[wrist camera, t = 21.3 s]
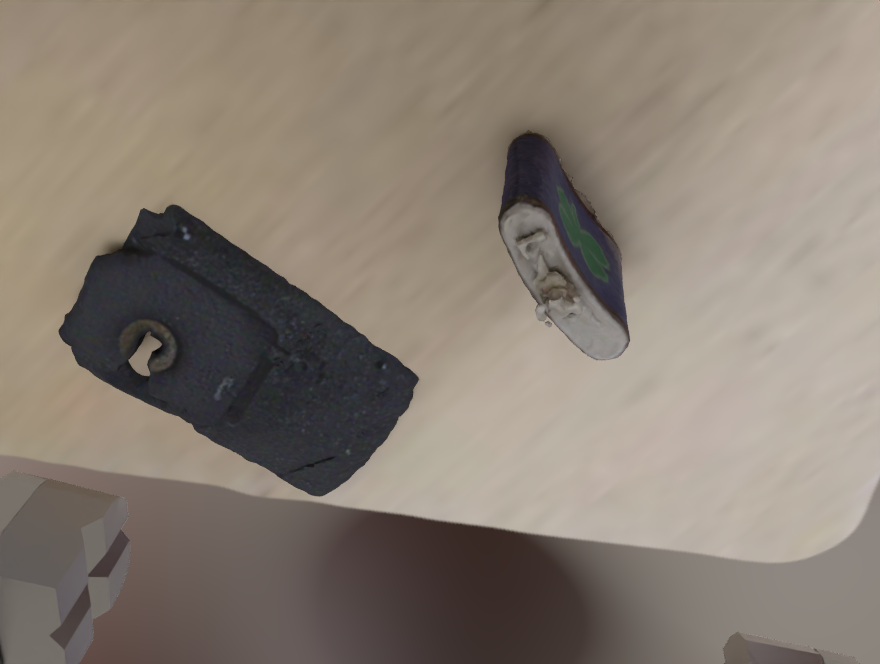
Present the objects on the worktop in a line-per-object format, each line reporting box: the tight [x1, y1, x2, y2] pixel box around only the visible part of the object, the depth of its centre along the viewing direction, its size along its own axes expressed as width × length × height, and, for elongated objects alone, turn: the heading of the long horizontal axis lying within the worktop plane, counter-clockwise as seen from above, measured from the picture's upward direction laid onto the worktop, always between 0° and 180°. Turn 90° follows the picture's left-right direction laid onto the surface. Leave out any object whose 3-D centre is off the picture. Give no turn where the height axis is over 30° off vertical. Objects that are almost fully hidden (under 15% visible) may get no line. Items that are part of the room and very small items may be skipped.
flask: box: [498, 130, 630, 360], centre depth 43 cm, size 10×3×12 cm, turn 35°
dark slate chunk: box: [59, 205, 419, 496], centre depth 55 cm, size 15×22×5 cm
